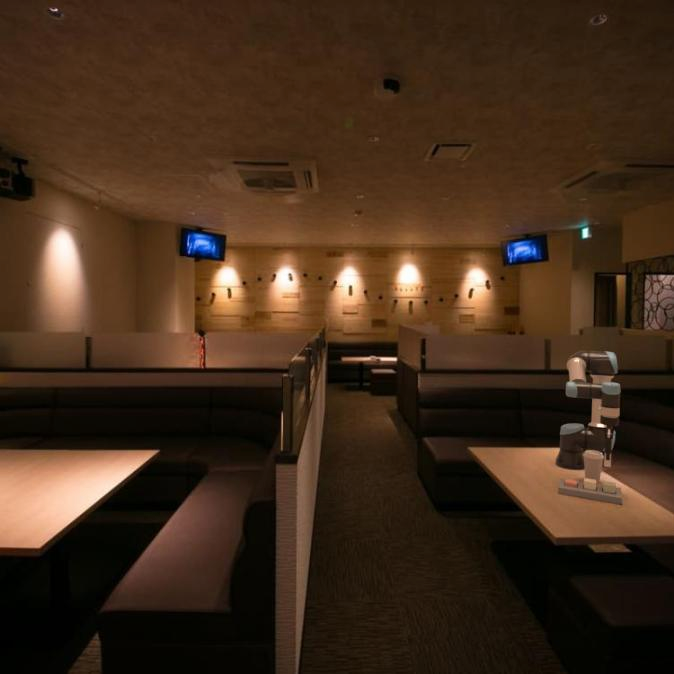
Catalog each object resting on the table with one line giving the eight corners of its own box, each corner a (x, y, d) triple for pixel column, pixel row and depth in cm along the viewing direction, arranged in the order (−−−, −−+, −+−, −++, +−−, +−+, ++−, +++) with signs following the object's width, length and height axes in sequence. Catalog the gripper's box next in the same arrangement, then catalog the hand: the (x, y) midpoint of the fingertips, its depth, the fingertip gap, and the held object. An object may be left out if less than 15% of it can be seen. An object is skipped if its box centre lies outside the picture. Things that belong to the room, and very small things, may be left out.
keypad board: (560, 484, 241) (560, 478, 241) (620, 494, 229) (620, 488, 229) (558, 493, 229) (558, 487, 229) (621, 504, 217) (622, 498, 217)
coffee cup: (605, 485, 241) (607, 455, 240) (584, 483, 243) (586, 454, 242) (599, 478, 250) (600, 450, 249) (579, 477, 252) (580, 449, 251)
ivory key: (584, 485, 232) (584, 477, 232) (595, 486, 230) (596, 479, 230) (583, 488, 228) (584, 481, 228) (595, 490, 226) (596, 483, 225)
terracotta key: (565, 485, 236) (565, 478, 236) (576, 487, 234) (577, 480, 234) (564, 489, 232) (565, 482, 232) (576, 491, 229) (576, 483, 229)
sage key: (603, 488, 229) (603, 480, 228) (615, 490, 226) (615, 482, 226) (603, 491, 224) (603, 484, 224) (615, 493, 222) (615, 486, 222)
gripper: (600, 412, 231) (598, 461, 232) (600, 417, 220) (597, 468, 221) (618, 414, 227) (616, 463, 229) (619, 419, 216) (616, 471, 217)
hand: (607, 466), depth 225 cm, fingers closed
